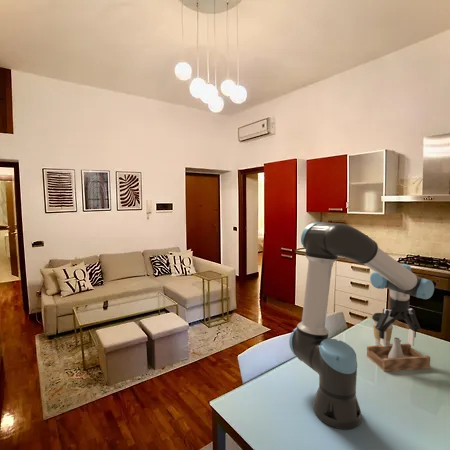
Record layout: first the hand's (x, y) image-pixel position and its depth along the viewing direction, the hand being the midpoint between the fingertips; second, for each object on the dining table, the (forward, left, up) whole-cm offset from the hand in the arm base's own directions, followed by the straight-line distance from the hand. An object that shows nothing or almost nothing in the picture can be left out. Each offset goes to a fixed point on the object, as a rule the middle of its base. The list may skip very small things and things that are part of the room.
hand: (397, 344), depth 129 cm
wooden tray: (0, 0, -8) cm, 8 cm away
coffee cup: (+4, +16, -8) cm, 19 cm away
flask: (0, +1, -7) cm, 8 cm away
